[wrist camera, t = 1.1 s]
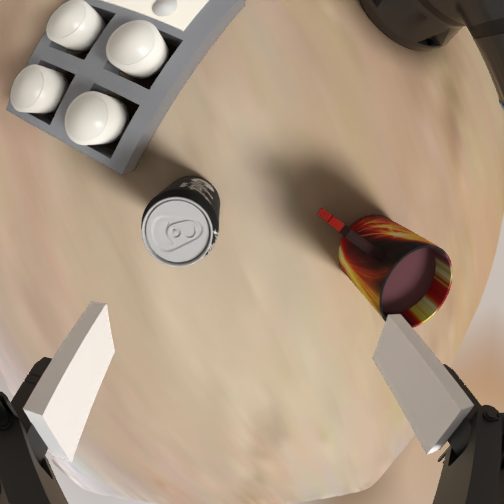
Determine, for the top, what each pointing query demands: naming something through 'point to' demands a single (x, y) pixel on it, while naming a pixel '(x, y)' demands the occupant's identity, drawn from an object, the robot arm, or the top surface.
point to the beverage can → (182, 222)
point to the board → (105, 78)
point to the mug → (393, 267)
